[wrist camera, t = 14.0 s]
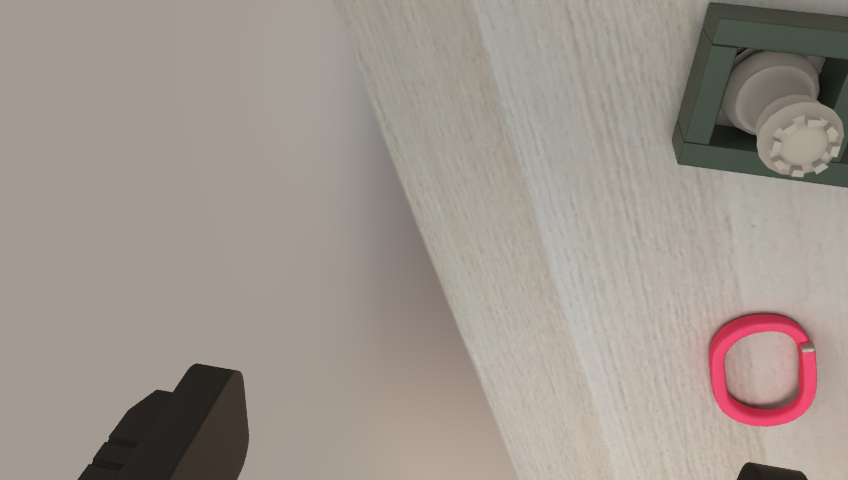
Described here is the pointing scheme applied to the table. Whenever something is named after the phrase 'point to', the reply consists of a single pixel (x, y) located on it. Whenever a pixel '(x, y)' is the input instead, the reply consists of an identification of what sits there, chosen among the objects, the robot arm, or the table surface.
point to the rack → (720, 38)
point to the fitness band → (806, 369)
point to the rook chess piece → (782, 111)
